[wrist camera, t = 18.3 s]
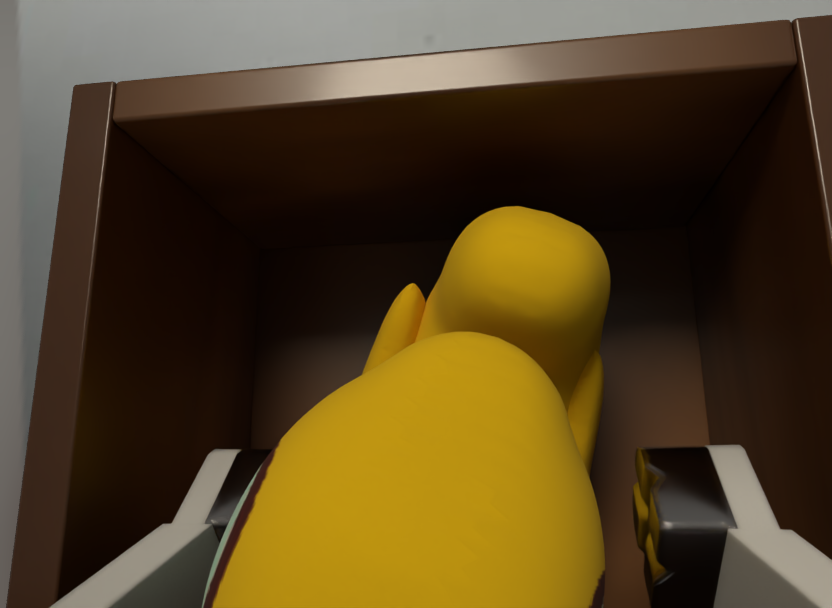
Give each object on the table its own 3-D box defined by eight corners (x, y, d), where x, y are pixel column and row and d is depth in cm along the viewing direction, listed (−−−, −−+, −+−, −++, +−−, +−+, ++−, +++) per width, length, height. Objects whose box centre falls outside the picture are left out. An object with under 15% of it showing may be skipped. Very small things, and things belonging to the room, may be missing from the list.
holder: (207, 827, 16) (-67, 1144, 8) (243, 231, 19) (72, 83, 12) (787, 869, 14) (1090, 1317, 7) (709, 204, 17) (850, 10, 10)
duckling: (472, 816, 14) (469, 1555, 5) (247, 704, 15) (-159, 1123, 5) (636, 323, 16) (869, 110, 7) (431, 251, 17) (376, -27, 8)
